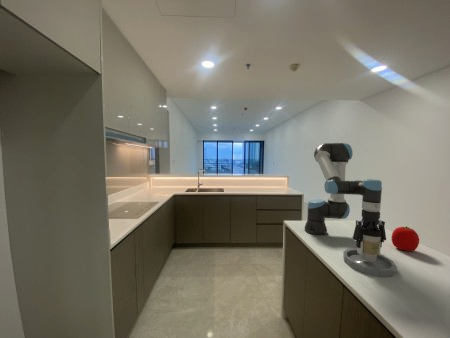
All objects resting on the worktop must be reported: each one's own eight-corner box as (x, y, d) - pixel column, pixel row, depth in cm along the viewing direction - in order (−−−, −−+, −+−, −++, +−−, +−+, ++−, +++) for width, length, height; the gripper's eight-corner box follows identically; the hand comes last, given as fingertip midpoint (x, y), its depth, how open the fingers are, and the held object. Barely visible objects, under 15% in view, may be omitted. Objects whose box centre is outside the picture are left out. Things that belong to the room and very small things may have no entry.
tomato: (394, 251, 116) (395, 227, 115) (388, 243, 126) (389, 221, 125) (422, 256, 111) (424, 231, 110) (414, 247, 121) (415, 225, 120)
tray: (335, 254, 112) (335, 249, 111) (371, 253, 113) (371, 248, 113) (363, 277, 90) (364, 270, 90) (408, 276, 92) (408, 269, 91)
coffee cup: (385, 264, 96) (386, 234, 95) (362, 262, 97) (363, 232, 97) (374, 254, 105) (375, 226, 104) (353, 252, 107) (354, 225, 106)
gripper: (355, 212, 96) (353, 257, 97) (397, 211, 97) (395, 256, 98) (345, 208, 103) (343, 250, 104) (384, 208, 104) (382, 249, 106)
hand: (368, 253), depth 101 cm, fingers closed on coffee cup, 9 cm apart
